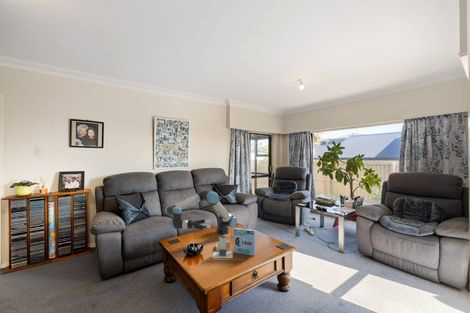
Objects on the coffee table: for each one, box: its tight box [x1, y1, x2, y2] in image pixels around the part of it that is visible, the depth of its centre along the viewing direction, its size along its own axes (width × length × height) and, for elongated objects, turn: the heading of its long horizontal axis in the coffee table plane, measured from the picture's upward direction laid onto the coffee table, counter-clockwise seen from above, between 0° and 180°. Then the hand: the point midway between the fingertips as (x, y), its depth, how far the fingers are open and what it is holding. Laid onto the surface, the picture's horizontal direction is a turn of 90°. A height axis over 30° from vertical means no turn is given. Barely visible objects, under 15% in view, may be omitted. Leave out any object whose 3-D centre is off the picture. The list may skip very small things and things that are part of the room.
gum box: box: [233, 226, 256, 257], centre depth 192 cm, size 20×5×23 cm, turn 72°
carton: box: [215, 241, 231, 252], centre depth 201 cm, size 12×13×14 cm
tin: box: [218, 235, 227, 256], centre depth 188 cm, size 5×6×16 cm
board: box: [211, 250, 234, 259], centre depth 188 cm, size 12×18×1 cm, turn 91°
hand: (211, 223), depth 190 cm, fingers open, 13 cm apart
